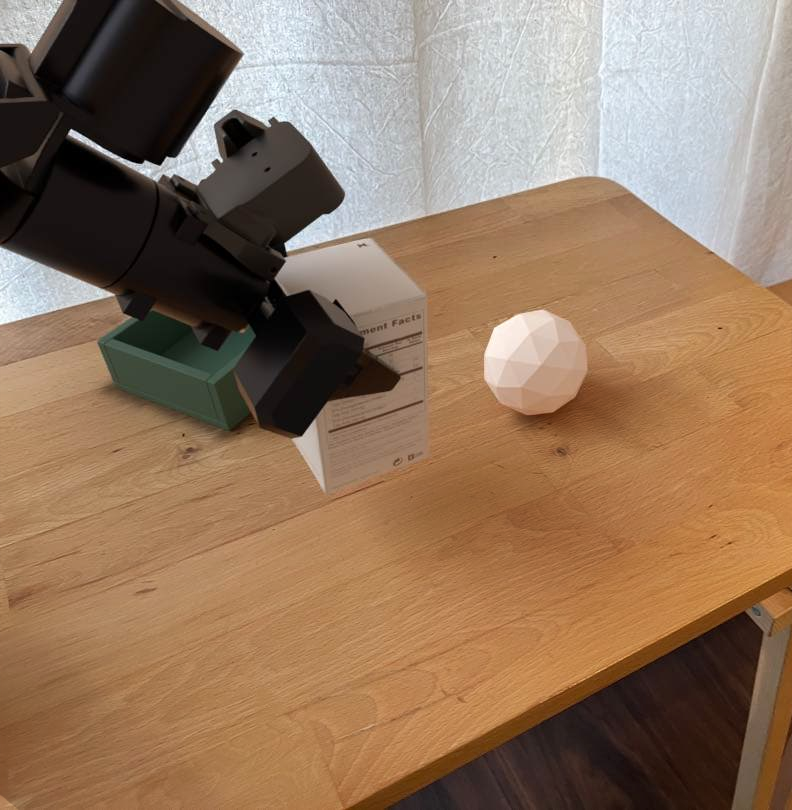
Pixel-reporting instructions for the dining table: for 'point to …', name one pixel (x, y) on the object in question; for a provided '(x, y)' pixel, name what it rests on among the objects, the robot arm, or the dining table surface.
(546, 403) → the geometric ball
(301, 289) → the white packaging box
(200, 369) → the bin
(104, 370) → the dining table surface
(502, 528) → the dining table surface
